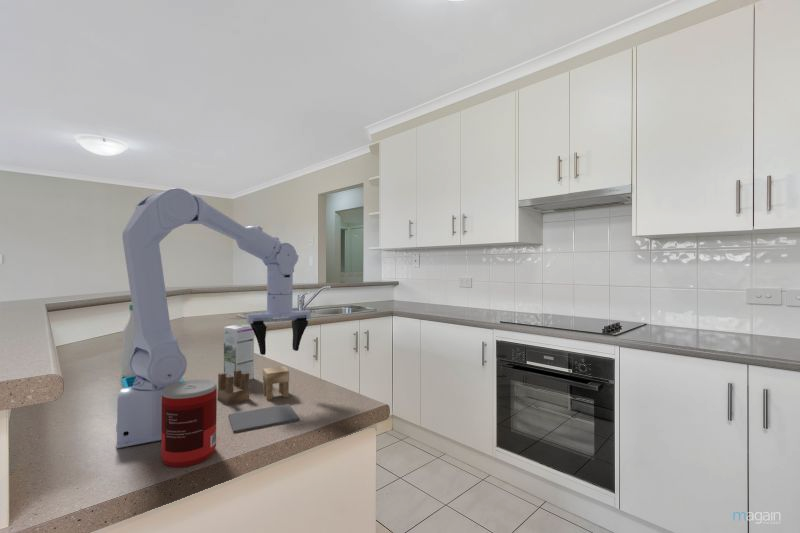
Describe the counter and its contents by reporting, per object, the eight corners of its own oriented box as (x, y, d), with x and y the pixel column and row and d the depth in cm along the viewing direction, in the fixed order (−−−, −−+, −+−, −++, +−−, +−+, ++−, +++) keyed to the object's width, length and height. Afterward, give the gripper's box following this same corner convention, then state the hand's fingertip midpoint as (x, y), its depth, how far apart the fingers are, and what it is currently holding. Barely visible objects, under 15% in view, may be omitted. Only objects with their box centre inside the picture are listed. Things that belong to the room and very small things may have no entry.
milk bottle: (142, 378, 102) (143, 304, 102) (114, 378, 102) (115, 304, 102) (161, 370, 110) (161, 302, 110) (135, 370, 110) (135, 302, 110)
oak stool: (266, 400, 85) (266, 373, 85) (262, 393, 90) (262, 368, 90) (289, 396, 88) (289, 370, 88) (284, 390, 92) (284, 366, 92)
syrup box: (255, 378, 102) (255, 325, 103) (235, 384, 97) (235, 328, 98) (242, 375, 105) (242, 323, 106) (222, 380, 100) (222, 326, 101)
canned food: (203, 439, 65) (203, 376, 66) (225, 454, 60) (225, 385, 60) (153, 456, 59) (153, 387, 60) (172, 474, 54) (173, 397, 55)
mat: (233, 432, 68) (233, 430, 68) (228, 416, 76) (228, 414, 76) (299, 420, 74) (299, 418, 74) (288, 405, 82) (288, 403, 82)
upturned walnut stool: (227, 405, 83) (227, 377, 83) (217, 400, 86) (217, 373, 86) (249, 399, 86) (249, 373, 86) (238, 394, 90) (239, 369, 90)
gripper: (251, 296, 81) (251, 359, 81) (315, 293, 89) (315, 351, 89) (244, 294, 87) (243, 353, 87) (305, 292, 95) (304, 346, 95)
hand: (279, 352), depth 88 cm, fingers open, 7 cm apart
